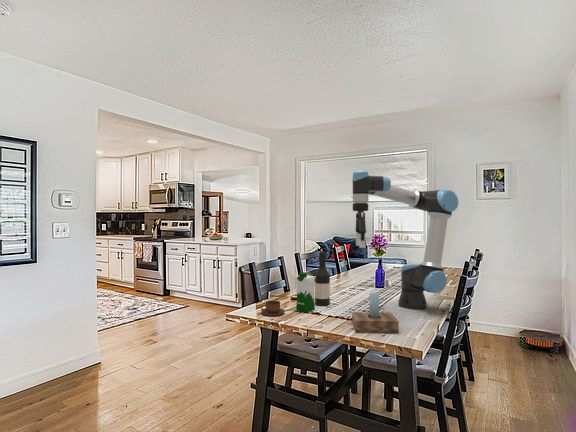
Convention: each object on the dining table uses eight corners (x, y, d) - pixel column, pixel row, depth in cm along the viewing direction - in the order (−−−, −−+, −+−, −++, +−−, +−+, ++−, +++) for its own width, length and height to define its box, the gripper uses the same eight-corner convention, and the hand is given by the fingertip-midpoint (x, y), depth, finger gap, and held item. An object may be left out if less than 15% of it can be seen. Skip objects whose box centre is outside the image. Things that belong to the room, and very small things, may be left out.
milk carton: (293, 310, 194) (293, 272, 194) (304, 307, 201) (304, 270, 201) (306, 313, 188) (306, 274, 188) (317, 310, 195) (317, 272, 195)
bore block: (391, 323, 169) (391, 312, 170) (398, 333, 156) (398, 321, 156) (352, 323, 171) (352, 312, 171) (355, 332, 157) (355, 320, 157)
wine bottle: (329, 307, 202) (329, 252, 202) (313, 306, 203) (313, 251, 203) (330, 303, 210) (330, 250, 210) (315, 302, 211) (315, 250, 212)
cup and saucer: (268, 318, 179) (268, 306, 179) (257, 313, 189) (257, 301, 189) (289, 315, 185) (289, 303, 185) (277, 310, 195) (277, 298, 195)
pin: (378, 324, 165) (378, 293, 165) (379, 327, 161) (379, 295, 161) (369, 324, 165) (368, 293, 165) (370, 326, 161) (370, 294, 161)
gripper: (350, 203, 192) (350, 244, 192) (355, 201, 167) (355, 248, 167) (364, 203, 192) (364, 244, 192) (372, 201, 167) (372, 248, 167)
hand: (360, 246), depth 180 cm, fingers open, 13 cm apart
